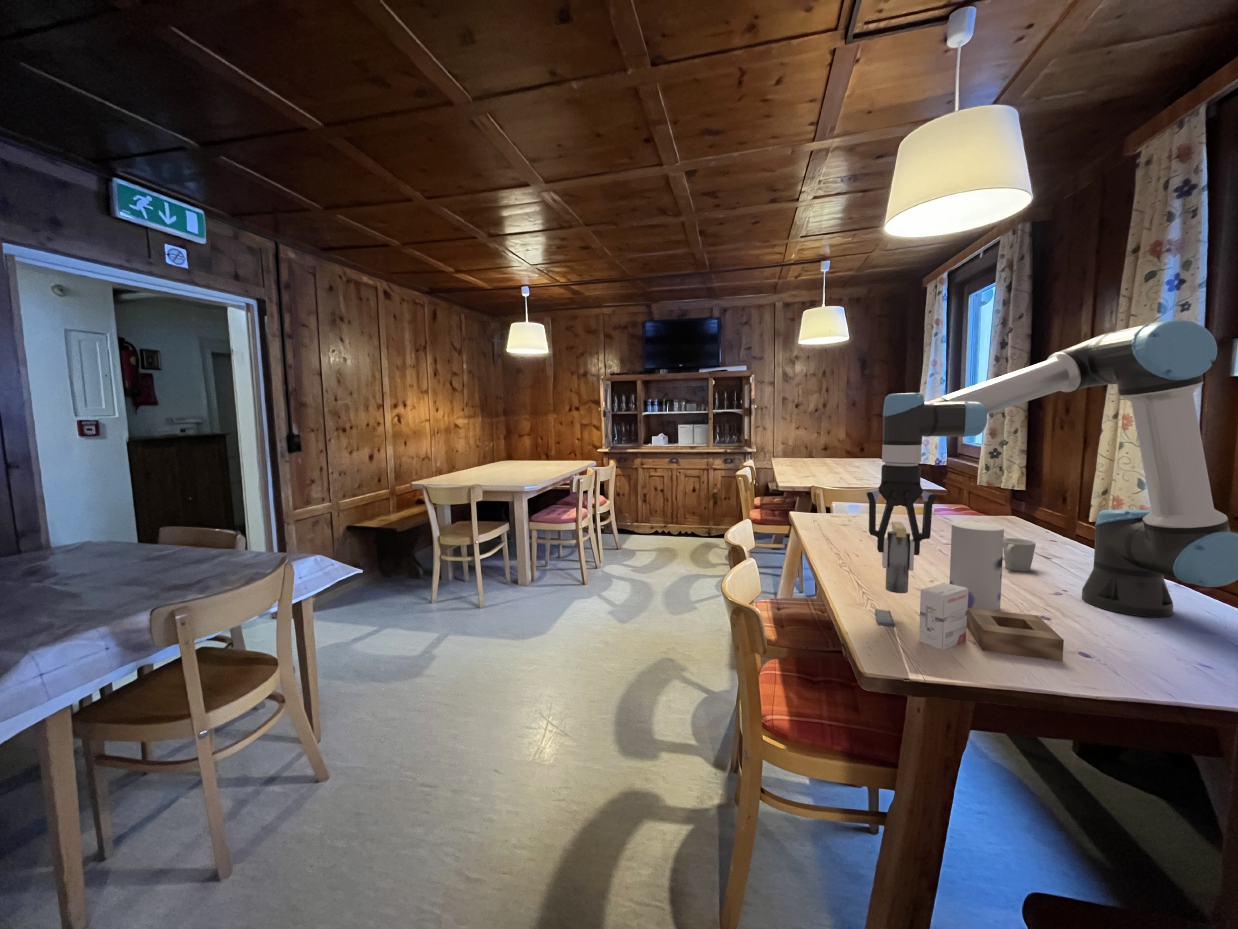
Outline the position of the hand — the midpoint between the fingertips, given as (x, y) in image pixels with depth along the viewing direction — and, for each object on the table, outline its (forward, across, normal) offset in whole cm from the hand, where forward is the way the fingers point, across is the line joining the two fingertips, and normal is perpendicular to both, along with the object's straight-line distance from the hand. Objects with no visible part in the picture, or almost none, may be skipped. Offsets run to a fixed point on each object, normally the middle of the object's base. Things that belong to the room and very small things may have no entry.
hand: (897, 567), depth 110 cm
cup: (+12, -37, -53) cm, 66 cm away
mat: (+12, 0, 0) cm, 12 cm away
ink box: (+12, -7, +10) cm, 18 cm away
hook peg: (+5, 0, 0) cm, 5 cm away
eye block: (+12, -19, +7) cm, 24 cm away
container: (+12, -18, -15) cm, 27 cm away
